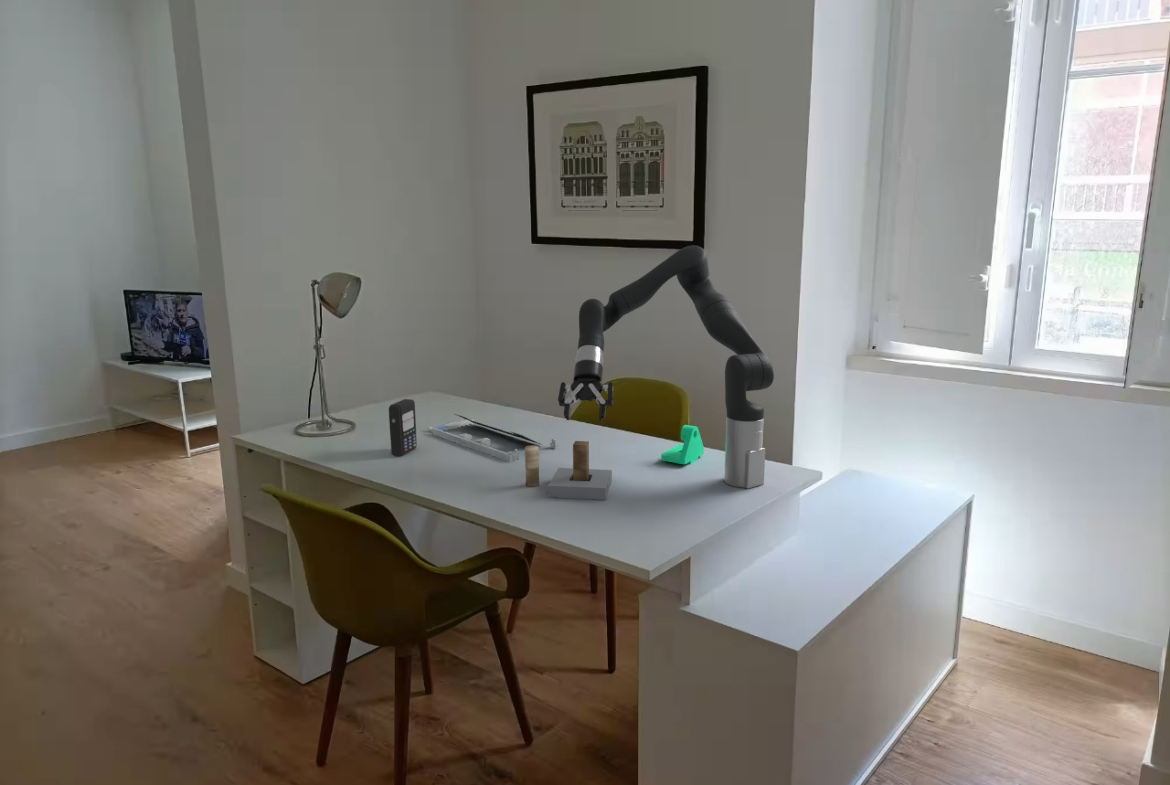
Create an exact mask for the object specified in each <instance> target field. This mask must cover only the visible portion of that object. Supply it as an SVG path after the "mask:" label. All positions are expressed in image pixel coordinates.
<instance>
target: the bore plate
mask: <svg viewBox="0 0 1170 785" xmlns="http://www.w3.org/2000/svg"><path fill="white" fill-rule="evenodd" d="M612 482H613V470H612V469H596V468H594V469H593V468H589V481H573V467H571V468H570V467H558V468H557V469H556V471H555V473H554V475H553V476H552V479H551V480H550V482H549V483H548V487H547V490H548V491H547V493H548V498H554V497H560V498H561V499H575V500H576V499H579V500H580V499H581V500H600V501H605V500H606V499H607V496H608V494H609V490H610V487H611V485H612ZM560 498H559V499H560Z"/></svg>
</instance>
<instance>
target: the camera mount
mask: <svg viewBox="0 0 1170 785" xmlns="http://www.w3.org/2000/svg"><path fill="white" fill-rule="evenodd" d="M680 430H681V431H680V439H681V441H683V444H677V445H675V446H674V447H671V448H670V449H668V450H666V451H663V452H662V453H661V454H660V455H661V456H660V459H661V461H664V462H671V463H675V464H680V465H686V464H688V465H692V464H694V463H695V462H697V461H699V458H700V457H701V456H702V455H704V454H705V448H704V447H705V446H704V443H703V440H702V437H701V434H700V430H699V427H698V426H696V425H695V426H694V425H688V424H684V425H683V426H682V428H681V429H680Z"/></svg>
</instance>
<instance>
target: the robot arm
mask: <svg viewBox="0 0 1170 785" xmlns="http://www.w3.org/2000/svg"><path fill="white" fill-rule="evenodd" d="M708 262H709V261H708V256H707V252H706V250H705V248H702V247H701V246H699V245H687V246H685V247H682V248H681V249H679V250H678V251H675V253H673V254H672V255H670V256H669V257H668V258H667V259H665V260H663V261H662V262H660V263H659V264H658V265H657V266H655V267H653V268H652V270H650V271H648V272H647V273H645V274H644V275H643V276H641V277H639V278H638V279H636V280H635V281H633V282H631V283H629V284H627V285H625V286H623V287H621V288H620V289H618V290H616V291H613V292H612V293H611V294H609V297H608V302H607V304H605V305H604V304H603V302H602V301H600V300H599V299H597V298H589V299H587V300H585V301H584V302H582V303H581V306H580V308H579V311H578V328H579V330H578V331H579V336H578V344H577V352H576V354H575V355H576V356H575V359H574V361H575V362H574V371H573V372H574V373H573V380H572V383H571V384H570V383H569V384H567V383H565V382H564V381H563V382H561V383H560V387H559V392H558V397H557V401H558V405H559V406H560V407H564V408H563V416H564V418H565V419H566V421H570V420H571V410H572V408H571V407H572V406H573V405H574V404H576V403H577V402H579V400H580V401H581V402H582V401H589V402H591V401H594V400H595V402H596V403H597V404H598V405H599V412H598V419H599V421H601V422H602V421H603V419H604V420H605V418H606V412H607V410H606V409H607V408H608V407H609V408H612V407H613V406H614V384H613V383H612V382H610V381H609V382H608V383H607V384H603V383H602V382H603V375H604V374H603V373H604V372H603V371H604V359H605V358H604V352H605V351H604V350H605V349H604V348H605V337H604V332H606V331H607V330H609V329H610V328H611V327H613V326H614V325H615V324H616V323H617V322H618V321H620V320H621V318H623V316H626V315H628V314H630V313H631V312H632V313H633V311H635V310H638V309H639V308H641V307H643V306H644V305H645V304H647V303H648V302H649V301H650V300H651V299H652V298H653V297H654V296H655V295H656V293H657V292H658V291H659V290H660V289H661V287H663V285H665V284H666V283H667V282H668V281H669V280H670V279H672V278H673V277H675V276H676V278H677V281H678V283H679V285H680V286H681V288H683V290H684V291H685V293H686V294H687V295H688V297H689V298H690V299H691V300H692V303H693V305H694V308H695V309H696V313H697V314H698V316H699V318H700V321H701V323H702V324H703V326H704V328H705V330H706V331H707V333H708V334H709V336H710V337H711V338H712V339H714V340H715V341H716V342H718V343H720V344H721V345H723V346H724V347H726V348H727V349H729V350H731V351H732V352H734V353H735V354H733V355H730V356H729V357H728V358H727V360H726V362H725V363H726V364H725V369H724V388H725V390H724V392H725V393H724V395H725V397H724V398H725V399H724V400H725V401H724V402H725V408H726V418H725V419H726V420H725V421H726V422H725V423H726V424H725V425H726V426H725V448H724V449H725V450H724V451H725V453H724V481H723V482H724V483H726V484H727V485H729V486H731V487H736V488H737V487H738V488H744V489H751V488H755V487H758V486H761V485H764V483H765V470H766V469H765V468H766V464H765V463H766V448H765V447H763V438H764V422H765V420H764V418H765V417H764V416H765V408H764V407H763V406H762V405H761V404H759V403H757V402H753V401H749V400H748V399H747V392H751V391H761V390H766V389H769V387H771V386H772V384H773V382H774V379H775V375H774V374H775V373H774V369H773V368H774V367H773V365H772V362H771V360H770V358H769V357H768V356H767V353H766V352H765V351H764V350H763V348H762V347H761V346H760V345H759V343H758V342H757V341H756V340H755V339H754V337H753V336H752V335H751V333H750V332H749V330H748V329H747V327H746V325H745V324H744V322H743V320H742V319H741V317H740V315H739V313H738V311H737V310H736V308H735V307H734V304H733V303H732V301H731V300H730V299H729V297H727V296H726V295H724V294H722V293H719V292H718V290H717V289H716V287H715V285H714V283H713V281H712V278H711V274H710V268H709V263H708ZM570 390H571V393H570V394H569V395H568V397H567V398H566V395H567V394H568V393H569V392H570ZM603 391H605V393H606V394H607V399H604V397H603V396H602V394H601V393H602V392H603Z"/></svg>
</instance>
